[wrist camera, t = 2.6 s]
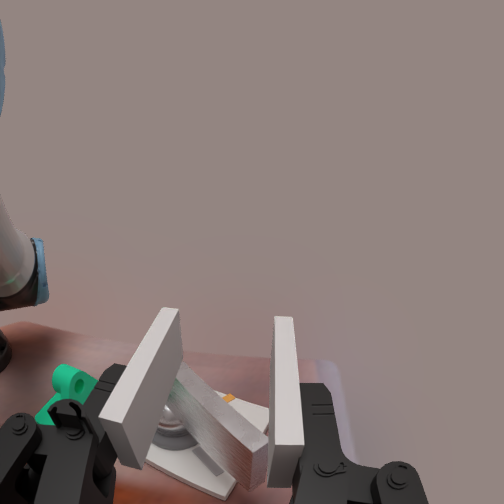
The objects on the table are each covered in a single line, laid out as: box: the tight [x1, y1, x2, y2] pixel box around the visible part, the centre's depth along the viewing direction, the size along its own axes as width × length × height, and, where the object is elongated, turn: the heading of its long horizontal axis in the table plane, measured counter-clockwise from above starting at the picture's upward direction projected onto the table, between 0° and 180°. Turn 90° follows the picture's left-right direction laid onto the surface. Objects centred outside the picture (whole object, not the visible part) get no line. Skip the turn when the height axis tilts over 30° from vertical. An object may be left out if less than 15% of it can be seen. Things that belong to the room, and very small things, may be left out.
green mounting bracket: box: [35, 364, 99, 425], centre depth 34 cm, size 12×8×10 cm, turn 169°
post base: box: [145, 390, 269, 501], centre depth 37 cm, size 20×16×3 cm
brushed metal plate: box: [156, 360, 269, 492], centre depth 29 cm, size 20×7×12 cm, turn 42°
